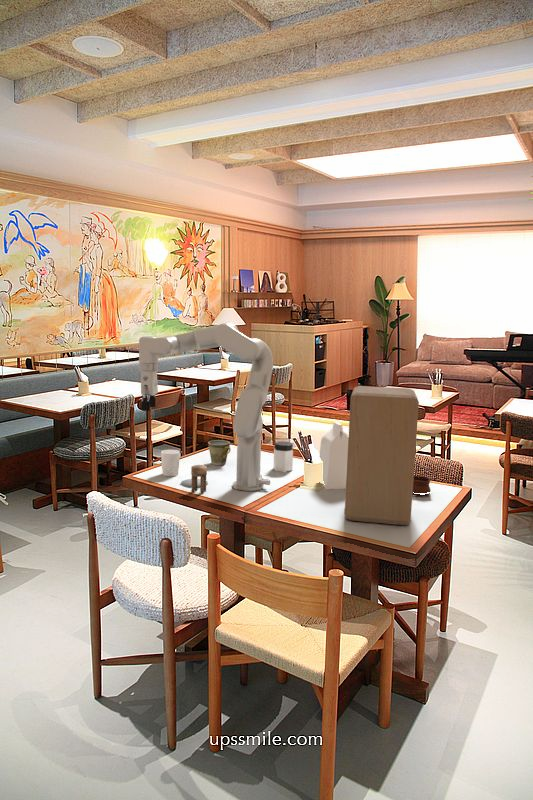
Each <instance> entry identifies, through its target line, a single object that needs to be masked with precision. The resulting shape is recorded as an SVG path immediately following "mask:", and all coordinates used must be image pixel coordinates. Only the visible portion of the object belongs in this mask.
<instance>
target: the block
mask: <svg viewBox="0 0 533 800" xmlns="http://www.w3.org/2000/svg"><path fill="white" fill-rule="evenodd" d="M349 403H350V404H349V420H348V421H349V422H348V423H349V425H348V458H347V477H346V489H345V500H344V516H345V518H346V520H349V521H353V522H361V523H362V522H364V523H365V522H366V523H375V524H384V525H385V524H387V525H395V526H396V525H397V526H405V525H406V526H407V525H409V523H411V519H412V508H413V507H412V506H413V505H412V504H413V495H412V494H413V480H414V476H415V475H414V474H415V462H416V461H415V460H416V448H417V435H418V422H419V421H418V419H419V406H420V404H419V403H420V402H419V400H418V396H417V394H416V392H415V389H414V390H413V389H412V388H405V387H404V388H403V387H386V386H385V387H384V386H369V385H368V386H367V385H358V386H355V387H354V388H353V390H352V392H351V395H350V402H349Z"/></svg>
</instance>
